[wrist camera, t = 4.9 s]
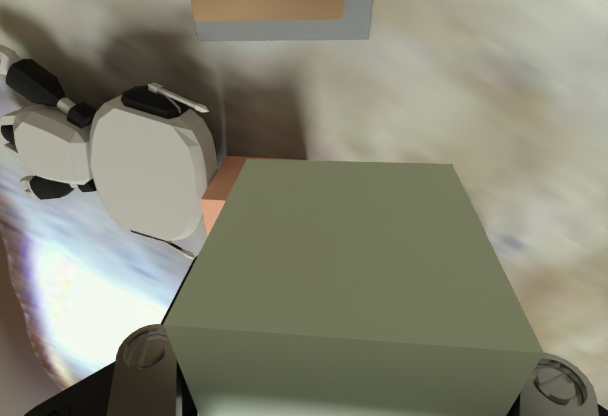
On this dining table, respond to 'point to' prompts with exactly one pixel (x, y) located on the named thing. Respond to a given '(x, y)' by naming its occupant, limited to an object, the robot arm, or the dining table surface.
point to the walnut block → (266, 10)
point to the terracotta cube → (223, 187)
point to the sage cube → (350, 298)
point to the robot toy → (113, 151)
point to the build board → (293, 27)
